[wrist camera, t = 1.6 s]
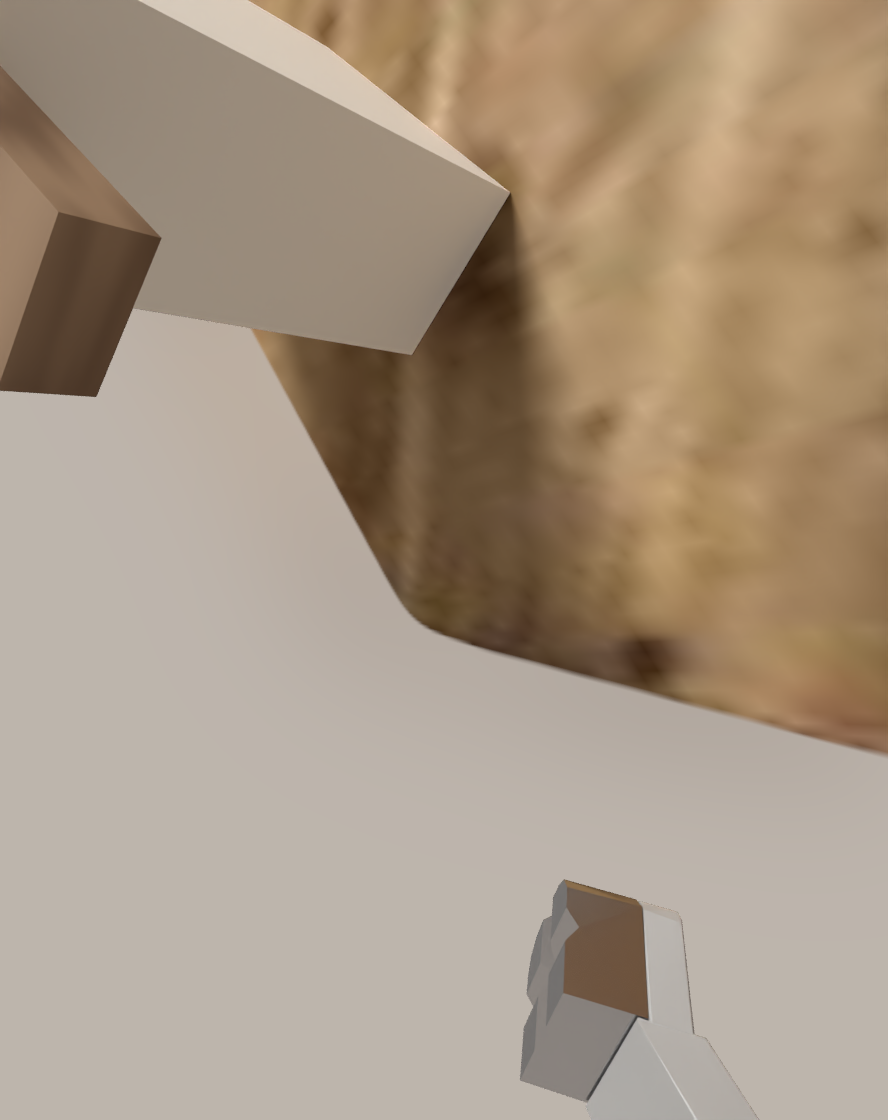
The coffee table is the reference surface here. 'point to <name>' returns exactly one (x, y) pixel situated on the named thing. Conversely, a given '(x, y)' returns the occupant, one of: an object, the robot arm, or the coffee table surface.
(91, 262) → the walnut strip
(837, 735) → the coffee table surface
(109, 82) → the pedestal
